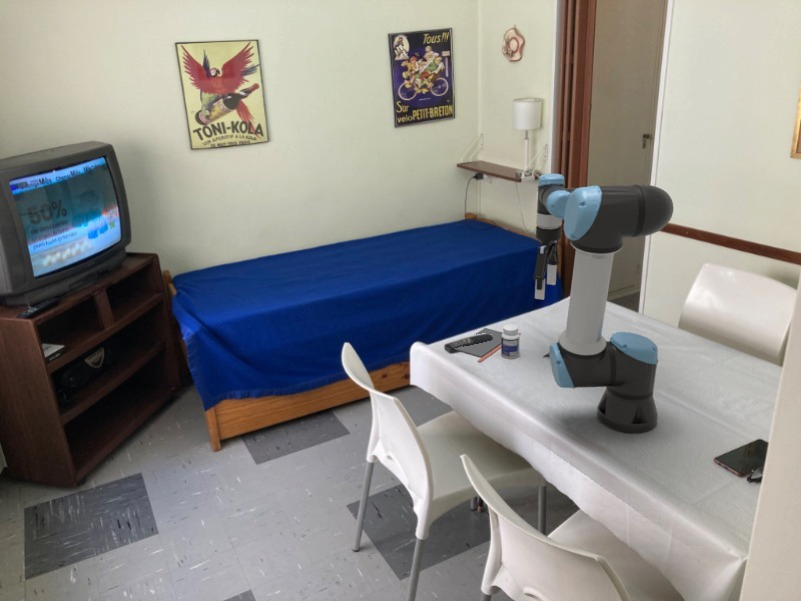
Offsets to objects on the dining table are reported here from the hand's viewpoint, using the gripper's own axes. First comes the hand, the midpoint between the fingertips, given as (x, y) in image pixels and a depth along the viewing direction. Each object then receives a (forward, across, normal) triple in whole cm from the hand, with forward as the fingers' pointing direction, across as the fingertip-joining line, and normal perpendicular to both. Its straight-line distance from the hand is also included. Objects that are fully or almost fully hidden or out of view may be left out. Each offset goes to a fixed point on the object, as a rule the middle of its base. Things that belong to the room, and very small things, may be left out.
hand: (545, 291), depth 203 cm
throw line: (+21, -3, +14) cm, 25 cm away
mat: (+21, -2, +20) cm, 29 cm away
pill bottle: (+21, -7, +9) cm, 24 cm away
